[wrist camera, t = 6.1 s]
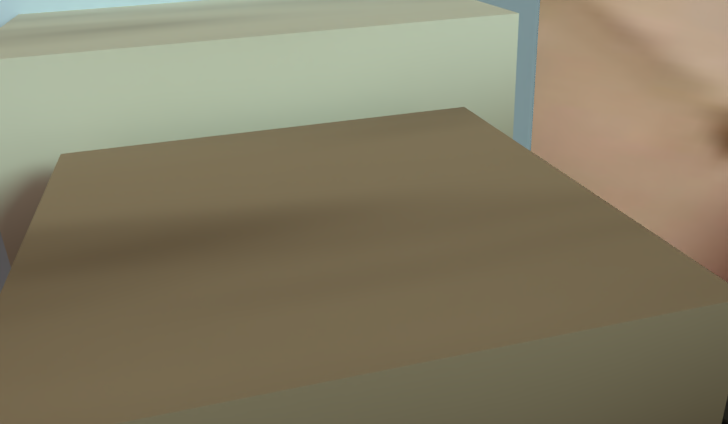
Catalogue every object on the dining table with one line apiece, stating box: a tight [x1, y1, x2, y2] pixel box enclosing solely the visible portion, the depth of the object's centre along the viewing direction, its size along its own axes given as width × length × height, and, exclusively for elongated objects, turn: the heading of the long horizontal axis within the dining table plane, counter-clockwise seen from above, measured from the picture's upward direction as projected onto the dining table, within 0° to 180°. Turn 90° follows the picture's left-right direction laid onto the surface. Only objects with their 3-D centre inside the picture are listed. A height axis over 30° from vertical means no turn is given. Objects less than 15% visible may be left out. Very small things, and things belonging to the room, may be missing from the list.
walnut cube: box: [0, 107, 728, 424], centre depth 7 cm, size 5×5×5 cm
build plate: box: [0, 0, 540, 293], centre depth 14 cm, size 12×12×1 cm
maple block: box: [0, 0, 519, 267], centre depth 12 cm, size 7×7×4 cm
